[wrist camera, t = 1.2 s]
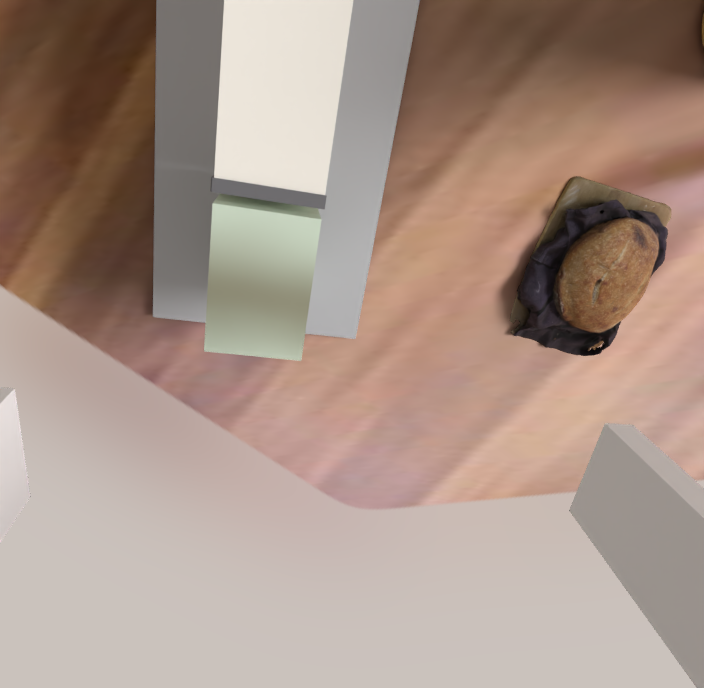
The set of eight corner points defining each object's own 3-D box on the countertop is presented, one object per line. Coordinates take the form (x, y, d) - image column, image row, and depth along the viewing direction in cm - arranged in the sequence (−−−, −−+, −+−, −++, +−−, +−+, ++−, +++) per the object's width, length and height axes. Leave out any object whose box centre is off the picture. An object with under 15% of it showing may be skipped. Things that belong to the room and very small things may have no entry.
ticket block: (162, -247, 20) (67, -523, 11) (447, -161, 22) (553, -335, 13) (154, 313, 29) (101, 398, 21) (354, 335, 32) (380, 420, 23)
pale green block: (234, 175, 26) (212, 203, 18) (310, 187, 27) (321, 219, 19) (226, 284, 28) (204, 351, 21) (296, 293, 29) (300, 360, 21)
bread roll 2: (560, 168, 29) (595, 175, 26) (676, 208, 31) (722, 219, 28) (489, 330, 33) (512, 354, 30) (595, 357, 35) (628, 382, 32)
